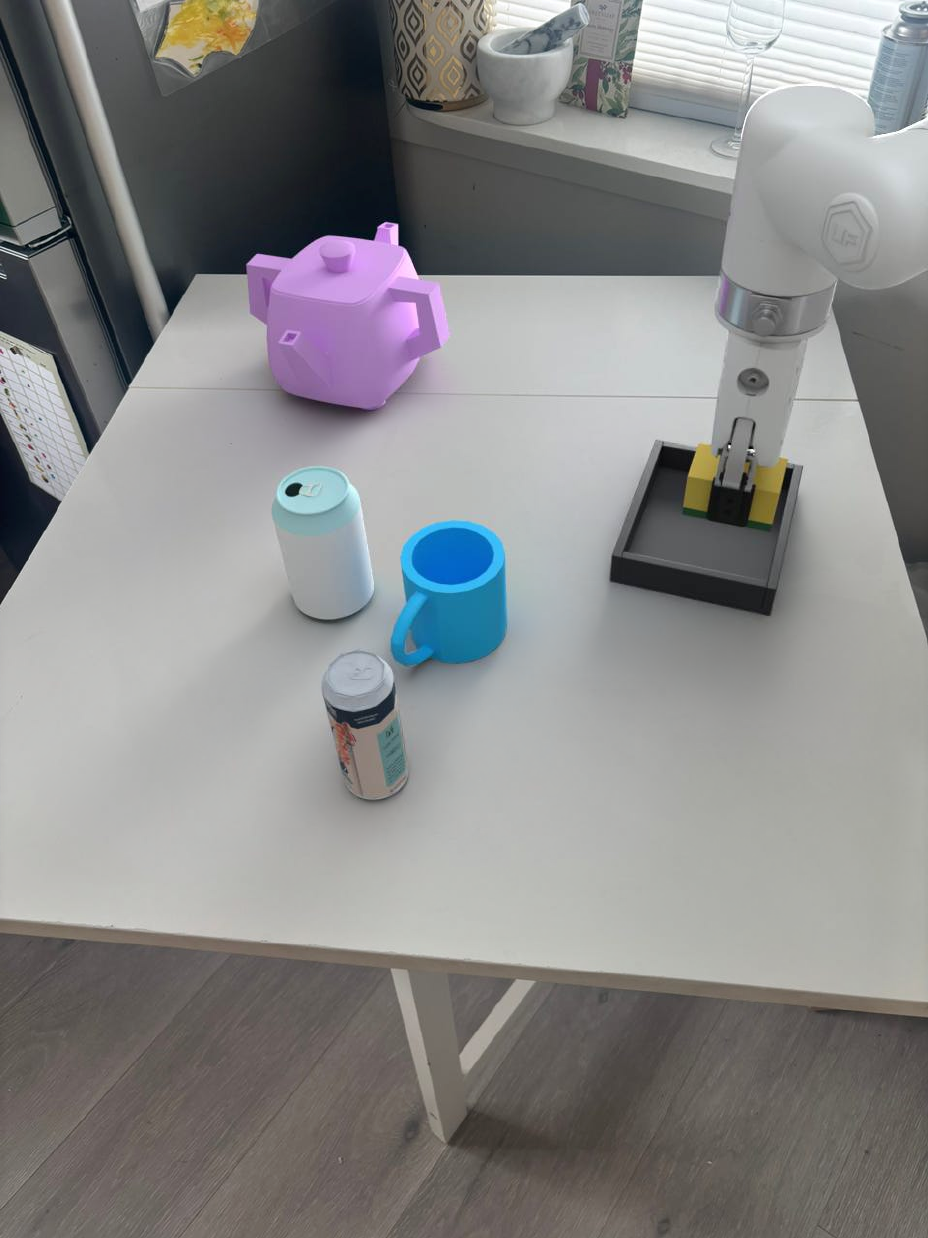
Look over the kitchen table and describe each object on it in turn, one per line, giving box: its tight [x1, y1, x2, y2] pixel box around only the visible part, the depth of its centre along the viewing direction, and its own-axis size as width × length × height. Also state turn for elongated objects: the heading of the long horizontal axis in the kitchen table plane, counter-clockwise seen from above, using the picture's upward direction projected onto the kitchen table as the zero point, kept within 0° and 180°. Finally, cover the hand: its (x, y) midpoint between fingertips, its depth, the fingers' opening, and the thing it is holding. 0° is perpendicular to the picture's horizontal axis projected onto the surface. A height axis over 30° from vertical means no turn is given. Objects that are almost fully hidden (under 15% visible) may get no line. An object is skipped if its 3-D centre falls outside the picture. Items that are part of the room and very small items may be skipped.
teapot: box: [245, 221, 451, 411], centre depth 103 cm, size 19×18×15 cm
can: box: [271, 465, 375, 620], centre depth 82 cm, size 7×7×12 cm
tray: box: [609, 439, 804, 617], centre depth 88 cm, size 14×17×3 cm
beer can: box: [320, 648, 409, 801], centre depth 69 cm, size 5×5×12 cm
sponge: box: [682, 442, 789, 532], centre depth 79 cm, size 7×4×4 cm, turn 70°
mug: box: [390, 519, 508, 667], centre depth 79 cm, size 12×8×8 cm
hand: (732, 499), depth 80 cm, fingers closed on sponge, 4 cm apart
